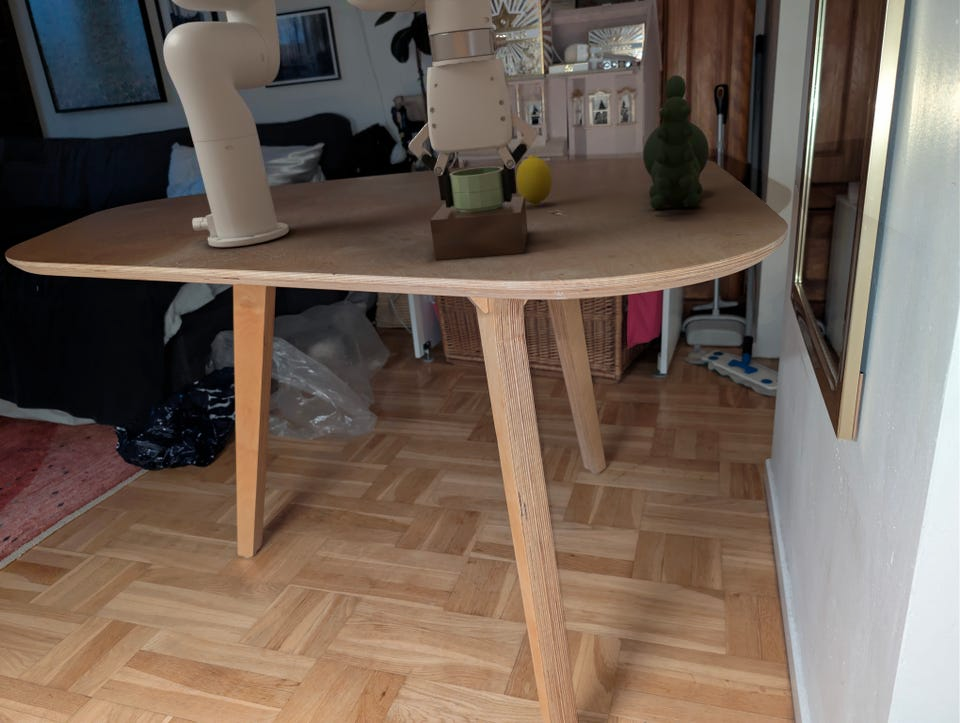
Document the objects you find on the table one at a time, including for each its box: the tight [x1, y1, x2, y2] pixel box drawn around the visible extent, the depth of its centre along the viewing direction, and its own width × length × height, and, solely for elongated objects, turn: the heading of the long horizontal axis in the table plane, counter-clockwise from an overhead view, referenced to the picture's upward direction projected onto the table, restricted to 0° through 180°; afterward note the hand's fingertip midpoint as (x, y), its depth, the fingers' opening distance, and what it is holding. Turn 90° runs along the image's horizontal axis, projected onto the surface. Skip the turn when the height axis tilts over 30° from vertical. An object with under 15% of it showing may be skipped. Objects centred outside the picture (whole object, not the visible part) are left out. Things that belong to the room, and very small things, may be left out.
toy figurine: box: [643, 74, 710, 210], centre depth 100 cm, size 9×19×25 cm
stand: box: [429, 196, 528, 261], centre depth 90 cm, size 11×11×5 cm
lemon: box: [515, 154, 552, 207], centre depth 111 cm, size 6×6×8 cm
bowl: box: [449, 166, 506, 212], centre depth 88 cm, size 7×7×4 cm
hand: (479, 201), depth 89 cm, fingers closed on bowl, 6 cm apart
